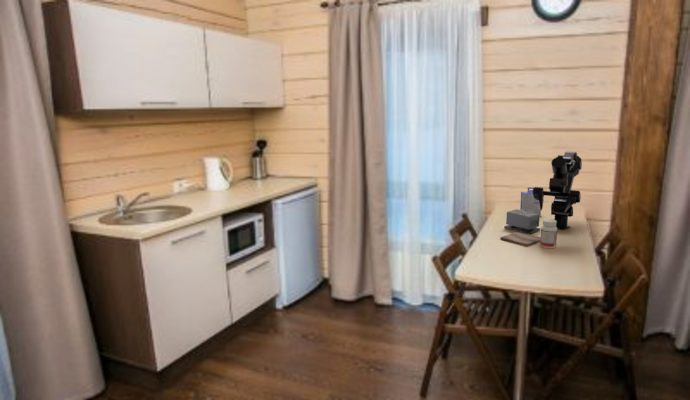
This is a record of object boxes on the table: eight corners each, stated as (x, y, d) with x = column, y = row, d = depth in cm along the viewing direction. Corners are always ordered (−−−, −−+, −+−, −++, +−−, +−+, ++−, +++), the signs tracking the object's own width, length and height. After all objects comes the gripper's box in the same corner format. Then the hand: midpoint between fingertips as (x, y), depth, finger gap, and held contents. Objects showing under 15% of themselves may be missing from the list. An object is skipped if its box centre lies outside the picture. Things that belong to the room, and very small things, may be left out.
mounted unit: (515, 224, 225) (516, 208, 223) (540, 230, 214) (541, 213, 213) (504, 228, 219) (505, 212, 218) (529, 234, 209) (530, 217, 207)
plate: (517, 233, 211) (517, 231, 210) (544, 240, 200) (544, 238, 200) (500, 239, 203) (500, 237, 203) (527, 246, 193) (527, 244, 193)
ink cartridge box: (539, 214, 243) (541, 187, 240) (541, 216, 238) (543, 189, 234) (519, 213, 245) (521, 186, 242) (521, 216, 240) (522, 189, 236)
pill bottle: (547, 243, 196) (548, 217, 194) (559, 247, 191) (561, 221, 188) (536, 245, 194) (538, 219, 191) (548, 249, 188) (550, 223, 186)
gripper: (534, 168, 202) (527, 198, 195) (582, 172, 191) (575, 203, 185) (537, 183, 210) (530, 212, 204) (583, 186, 199) (576, 217, 193)
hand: (552, 211), depth 196 cm, fingers open, 9 cm apart
